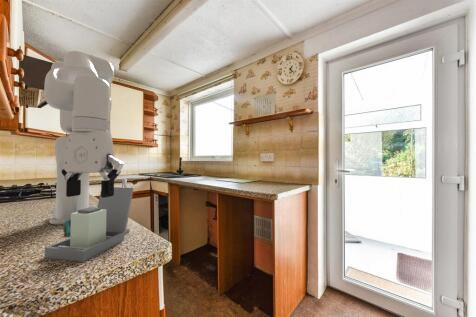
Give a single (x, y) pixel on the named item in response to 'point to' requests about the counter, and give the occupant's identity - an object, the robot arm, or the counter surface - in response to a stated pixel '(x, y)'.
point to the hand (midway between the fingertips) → (90, 196)
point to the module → (88, 227)
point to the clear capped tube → (124, 185)
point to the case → (82, 254)
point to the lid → (117, 208)
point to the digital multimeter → (68, 226)
